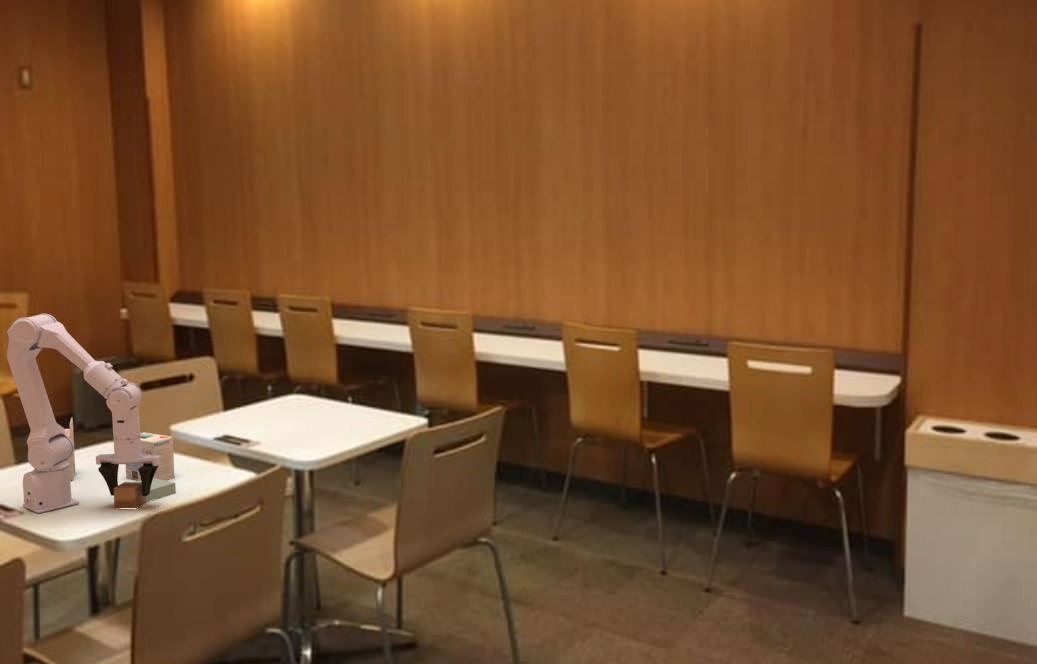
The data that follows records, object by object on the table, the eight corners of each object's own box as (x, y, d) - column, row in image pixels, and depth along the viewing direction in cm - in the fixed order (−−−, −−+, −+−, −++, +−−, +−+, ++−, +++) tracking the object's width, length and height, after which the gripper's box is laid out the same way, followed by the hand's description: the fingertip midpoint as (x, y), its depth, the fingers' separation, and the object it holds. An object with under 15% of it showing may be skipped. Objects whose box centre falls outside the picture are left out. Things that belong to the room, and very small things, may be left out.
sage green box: (144, 504, 221) (144, 492, 221) (119, 498, 226) (118, 486, 225) (175, 494, 229) (175, 482, 229) (150, 489, 233) (150, 477, 233)
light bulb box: (125, 478, 241) (122, 437, 240) (146, 472, 247) (144, 431, 246) (154, 484, 236) (152, 441, 235) (175, 477, 242) (174, 436, 241)
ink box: (55, 474, 245) (51, 418, 243) (76, 472, 247) (72, 416, 245) (52, 482, 237) (48, 425, 235) (74, 480, 239) (70, 423, 237)
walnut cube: (135, 510, 216) (134, 488, 215) (114, 509, 217) (113, 488, 216) (146, 503, 221) (145, 482, 220) (125, 502, 221) (124, 482, 221)
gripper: (165, 433, 220) (168, 490, 222) (105, 432, 221) (108, 488, 223) (151, 441, 213) (154, 499, 215) (89, 439, 214) (93, 498, 216)
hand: (130, 494), depth 218 cm, fingers open, 7 cm apart
